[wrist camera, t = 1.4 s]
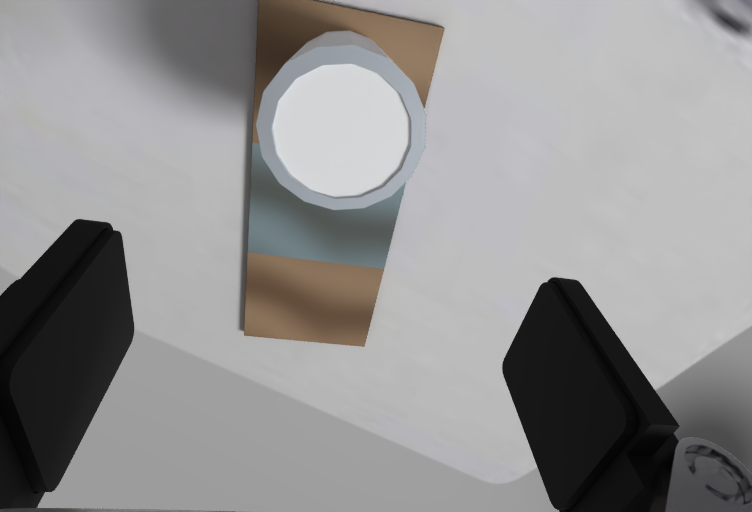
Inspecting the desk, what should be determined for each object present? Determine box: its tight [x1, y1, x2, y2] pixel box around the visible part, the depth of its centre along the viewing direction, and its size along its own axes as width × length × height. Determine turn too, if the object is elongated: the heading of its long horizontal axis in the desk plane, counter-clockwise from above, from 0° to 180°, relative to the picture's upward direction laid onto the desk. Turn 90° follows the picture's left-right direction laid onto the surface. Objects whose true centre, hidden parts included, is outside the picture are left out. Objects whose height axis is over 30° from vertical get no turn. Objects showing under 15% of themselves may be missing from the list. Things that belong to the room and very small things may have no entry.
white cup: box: [256, 30, 426, 210], centre depth 21 cm, size 7×7×7 cm
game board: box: [244, 0, 444, 347], centre depth 29 cm, size 22×9×1 cm, turn 169°
